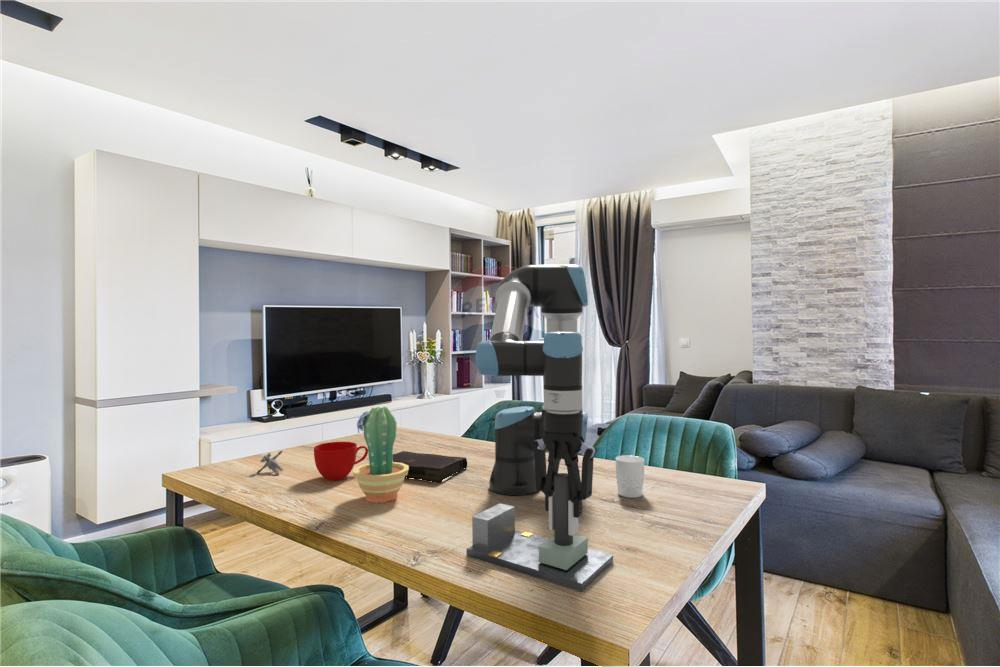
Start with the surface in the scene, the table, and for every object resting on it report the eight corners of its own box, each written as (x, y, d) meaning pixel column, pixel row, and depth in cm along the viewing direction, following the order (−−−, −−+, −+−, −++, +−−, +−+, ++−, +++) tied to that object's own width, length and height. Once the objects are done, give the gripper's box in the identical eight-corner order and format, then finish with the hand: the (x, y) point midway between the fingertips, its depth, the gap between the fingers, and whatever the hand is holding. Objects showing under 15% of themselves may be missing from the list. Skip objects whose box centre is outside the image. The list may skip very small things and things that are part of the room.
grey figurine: (261, 479, 163) (248, 464, 169) (271, 488, 167) (258, 474, 173) (287, 455, 168) (274, 442, 173) (296, 465, 172) (283, 452, 177)
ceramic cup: (375, 476, 164) (374, 445, 164) (320, 486, 155) (320, 452, 155) (361, 468, 175) (360, 438, 175) (309, 476, 165) (309, 444, 165)
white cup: (645, 499, 141) (645, 462, 141) (615, 497, 143) (615, 461, 143) (643, 490, 149) (643, 455, 149) (615, 489, 150) (615, 454, 150)
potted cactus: (383, 485, 155) (383, 402, 155) (421, 494, 146) (420, 406, 146) (340, 499, 142) (340, 408, 142) (379, 510, 133) (378, 413, 133)
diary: (404, 463, 183) (404, 449, 183) (467, 471, 173) (467, 456, 173) (371, 476, 166) (371, 461, 166) (439, 485, 156) (439, 468, 156)
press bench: (466, 555, 106) (466, 519, 106) (505, 533, 118) (504, 500, 118) (581, 592, 92) (581, 549, 91) (613, 562, 103) (612, 524, 103)
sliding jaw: (538, 561, 99) (538, 478, 99) (561, 545, 107) (560, 468, 107) (566, 570, 96) (566, 483, 96) (587, 552, 103) (587, 472, 103)
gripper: (516, 409, 103) (517, 527, 103) (594, 417, 93) (594, 547, 94) (536, 405, 109) (536, 516, 109) (610, 411, 100) (611, 533, 100)
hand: (563, 530), depth 101 cm, fingers closed on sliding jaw, 4 cm apart
